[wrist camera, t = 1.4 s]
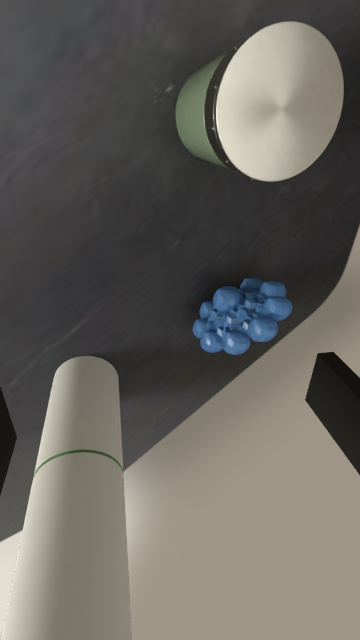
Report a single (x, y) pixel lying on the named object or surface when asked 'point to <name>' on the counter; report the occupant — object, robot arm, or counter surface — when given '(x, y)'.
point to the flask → (196, 113)
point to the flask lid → (274, 102)
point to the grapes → (242, 316)
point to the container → (75, 517)
